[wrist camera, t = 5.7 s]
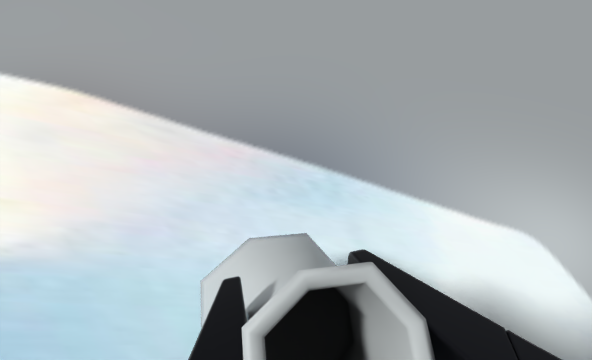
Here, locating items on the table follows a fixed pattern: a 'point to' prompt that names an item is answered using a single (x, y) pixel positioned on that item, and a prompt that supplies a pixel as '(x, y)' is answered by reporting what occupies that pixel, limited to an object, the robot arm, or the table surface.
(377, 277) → the flask
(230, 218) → the table surface
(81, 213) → the table surface
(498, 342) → the robot arm
